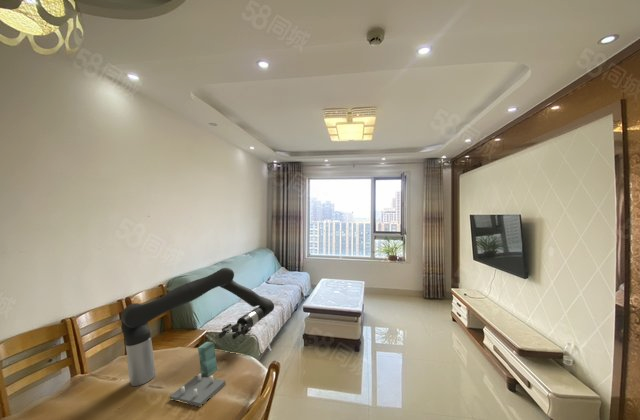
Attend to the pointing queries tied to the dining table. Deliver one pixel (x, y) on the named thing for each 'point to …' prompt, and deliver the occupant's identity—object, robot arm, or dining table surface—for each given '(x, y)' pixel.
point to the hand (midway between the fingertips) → (226, 336)
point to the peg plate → (198, 390)
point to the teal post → (207, 358)
